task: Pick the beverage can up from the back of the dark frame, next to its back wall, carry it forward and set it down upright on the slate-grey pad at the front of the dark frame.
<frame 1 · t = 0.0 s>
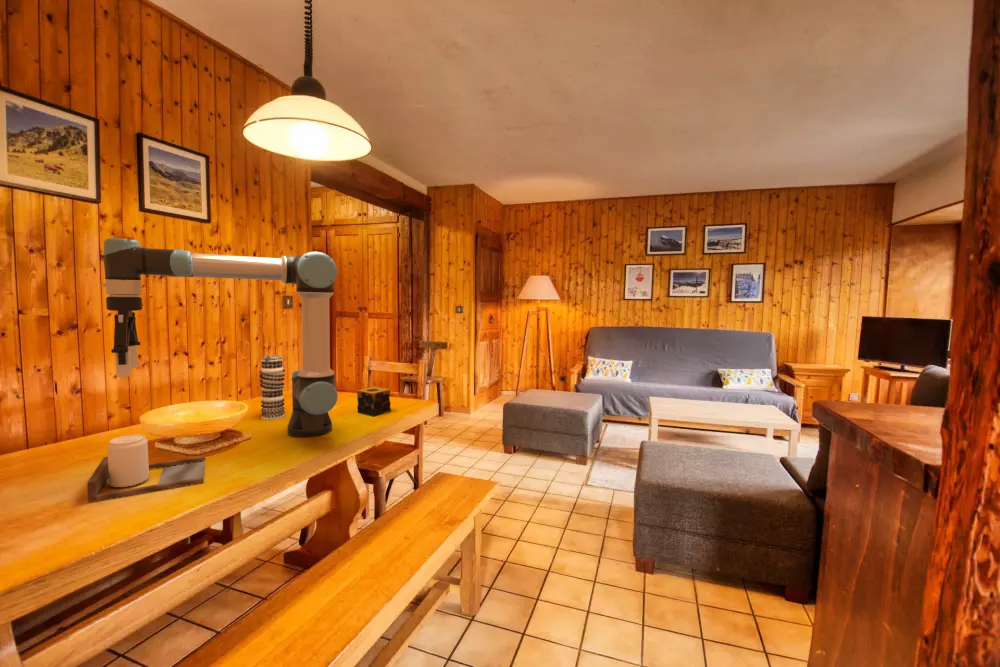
hand: (128, 372, 122), 28 cm above the table, tool pointing down, fingers open, 13 cm apart
beverage can: (129, 483, 117), resting in dark frame
dark frame: (153, 478, 119), on the table
dark patterned box: (374, 412, 190), on the table
decorative candle: (273, 417, 178), on the table
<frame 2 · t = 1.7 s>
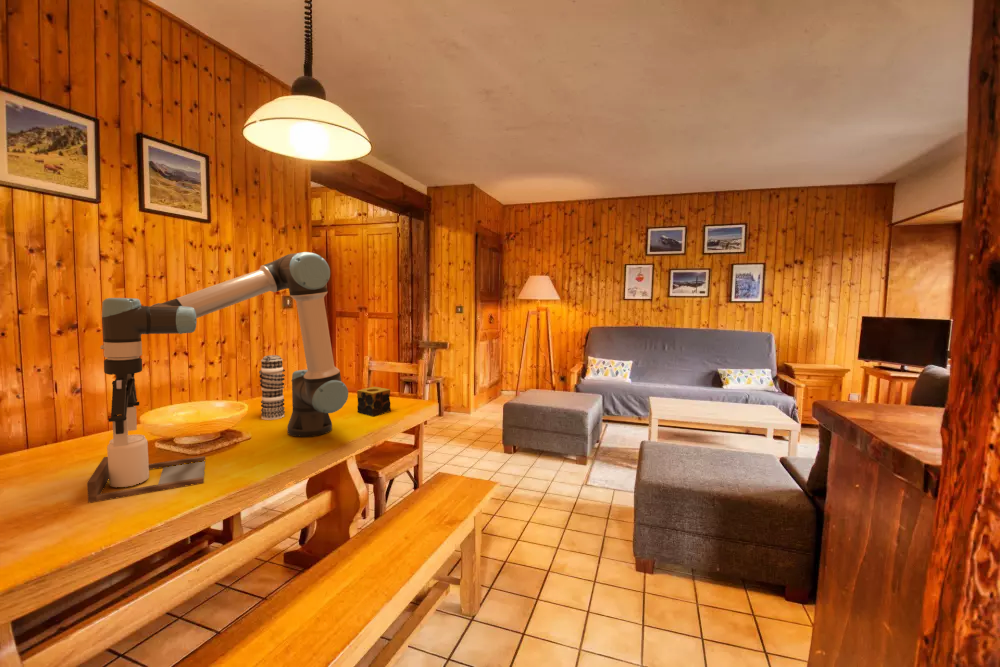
hand: (125, 437, 115), 12 cm above the table, tool pointing down, fingers open, 13 cm apart
nothing on the table moved.
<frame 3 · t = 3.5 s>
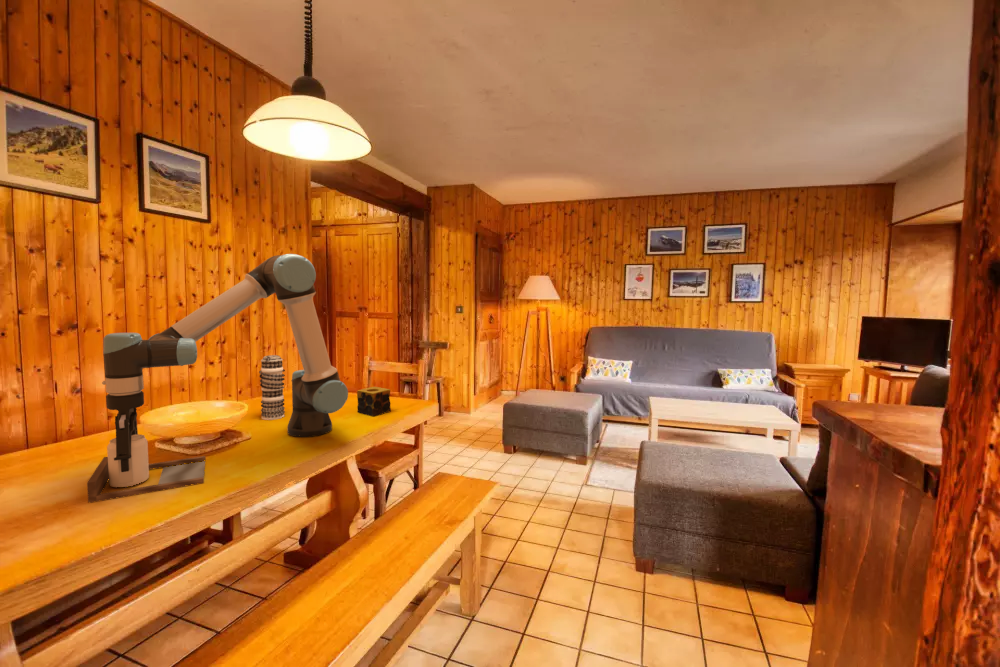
hand: (129, 476, 116), 2 cm above the table, tool pointing down, fingers closed on beverage can, 8 cm apart
beverage can: (129, 483, 117), resting in dark frame, touching gripper
everything else where it was.
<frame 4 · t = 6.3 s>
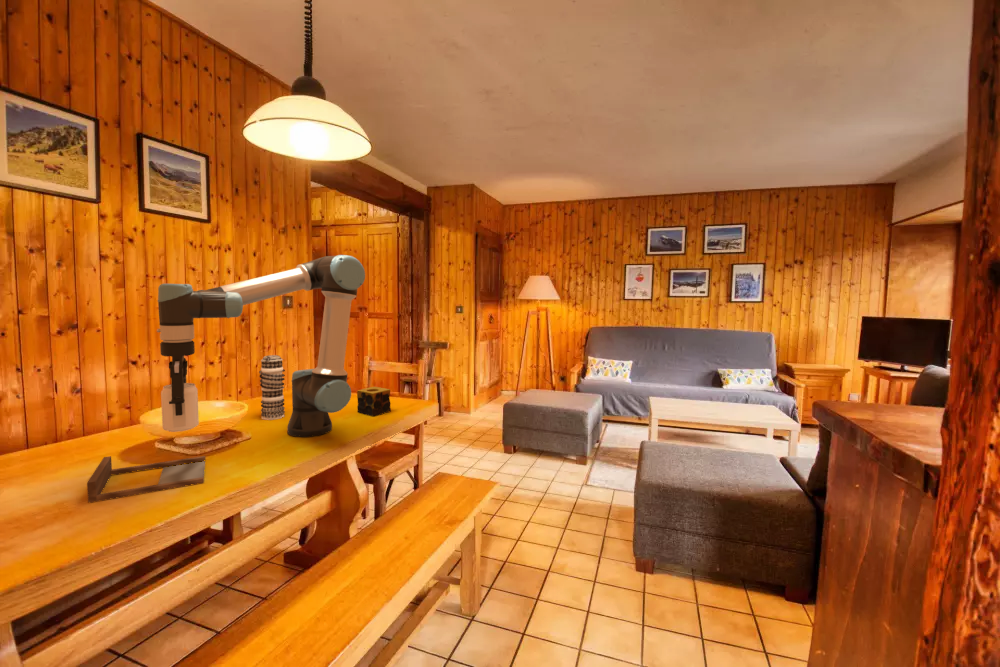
hand: (180, 422, 121), 15 cm above the table, tool pointing down, fingers closed on beverage can, 8 cm apart
beverage can: (181, 428, 122), point 13 cm above the table, touching gripper
everything else where it was.
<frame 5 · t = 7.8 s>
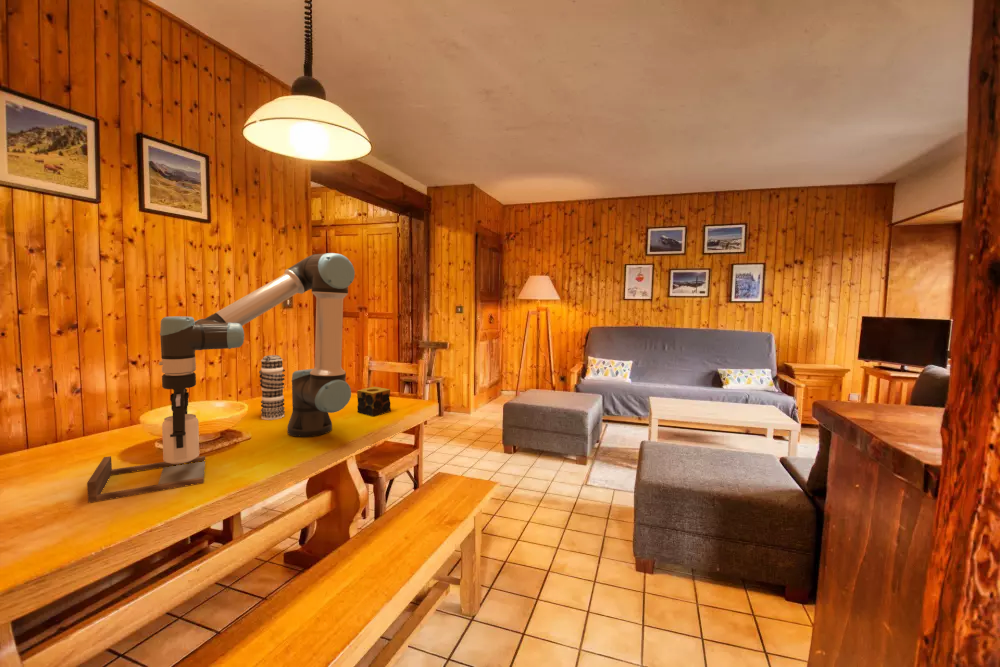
hand: (181, 453, 122), 6 cm above the table, tool pointing down, fingers closed on beverage can, 8 cm apart
beverage can: (181, 460, 122), point 4 cm above the table, touching gripper
everything else where it was.
when the fingers open (3 cm above the table, at t = 9.2 s): beverage can drops 1 cm, resting on dark frame.
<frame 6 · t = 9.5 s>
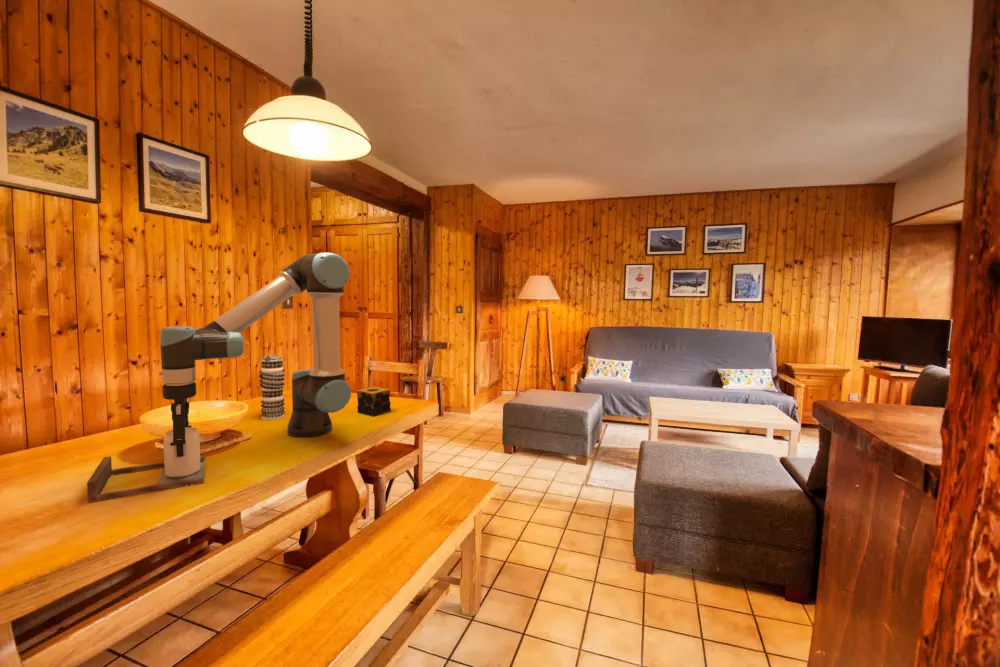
hand: (182, 459, 122), 4 cm above the table, tool pointing down, fingers open, 11 cm apart
beverage can: (183, 473, 123), resting on dark frame
everything else where it was.
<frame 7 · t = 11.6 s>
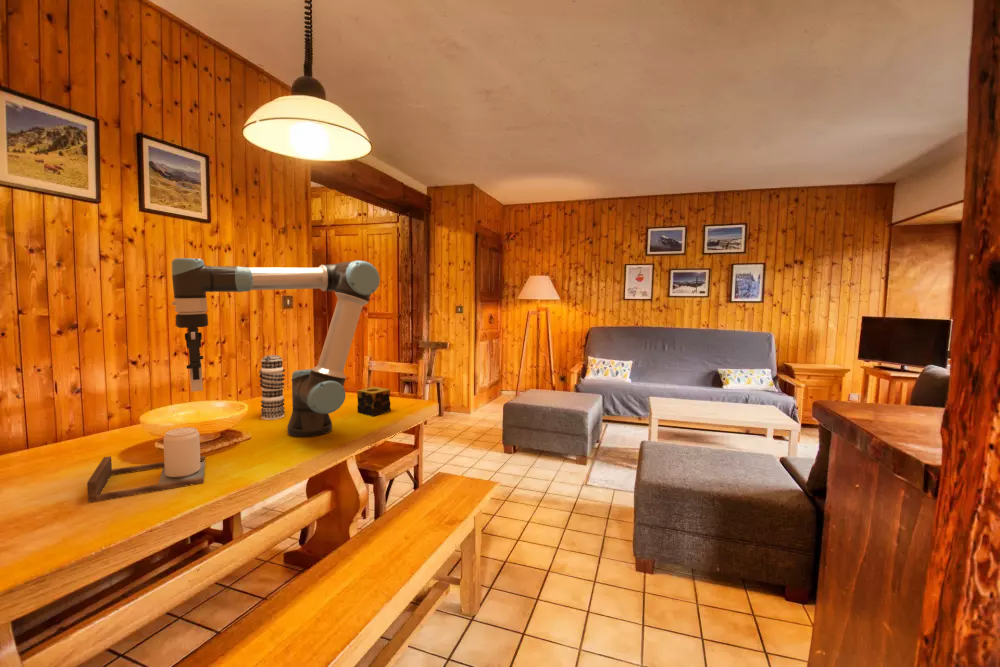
hand: (197, 386, 127), 24 cm above the table, tool pointing down, fingers open, 13 cm apart
nothing on the table moved.
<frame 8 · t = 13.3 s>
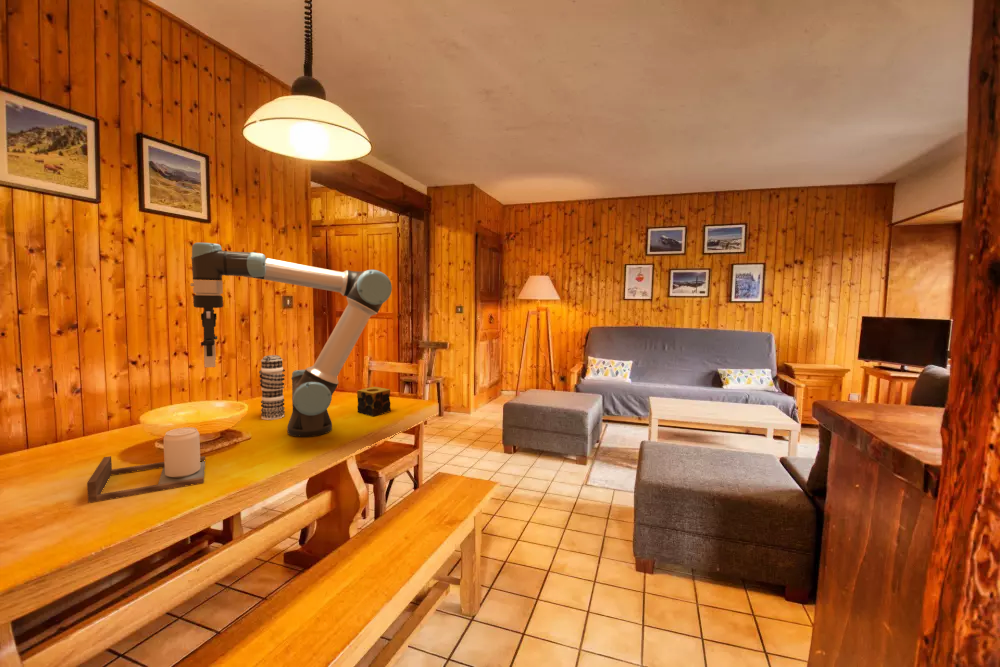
hand: (210, 363, 136), 29 cm above the table, tool pointing down, fingers open, 13 cm apart
nothing on the table moved.
at the end: beverage can inside the target area (0.1 cm from its centre), resting on dark frame; beverage can tilted 0°; the gripper is holding nothing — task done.
